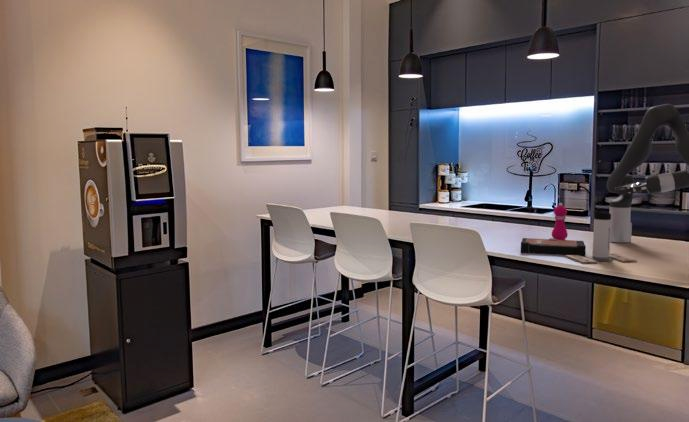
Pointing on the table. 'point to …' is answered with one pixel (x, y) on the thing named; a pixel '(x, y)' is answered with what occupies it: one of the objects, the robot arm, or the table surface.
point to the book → (553, 246)
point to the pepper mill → (560, 223)
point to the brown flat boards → (593, 261)
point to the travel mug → (601, 235)
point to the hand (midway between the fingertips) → (616, 191)
